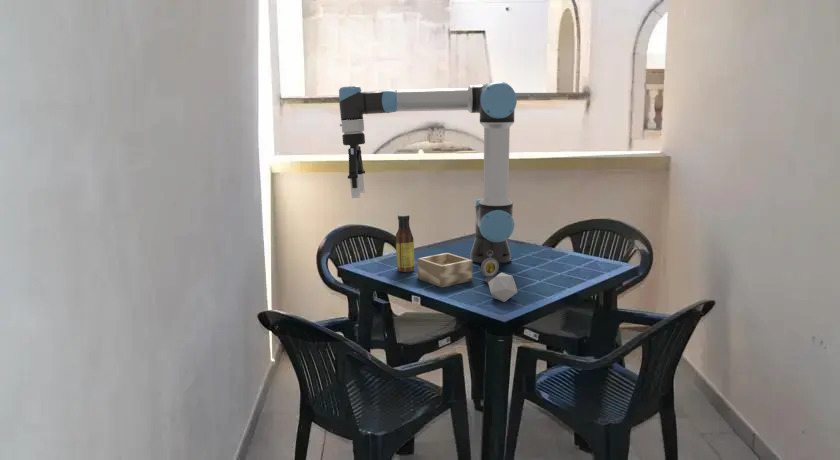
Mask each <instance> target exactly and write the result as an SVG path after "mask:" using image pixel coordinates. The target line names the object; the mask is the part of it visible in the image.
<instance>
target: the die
mask: <svg viewBox="0 0 840 460" xmlns="http://www.w3.org/2000/svg"><path fill="white" fill-rule="evenodd" d="M493 277H494V278H493V279H492V280H490V281H489V282H488V283H487V284H488V287H489V291H490V294H491V296H492V298H493V299H495V300H498V301H500V302H503V303H505V302H507V301H508V300H509V299H510V298H512V297H513V296H515V295H516V294H517V293H519V292H518V289H517V285H516V282H515V280H514V277H513V275H510V274H507V273H505V272H500V273H498V274H496V275H495V276H493Z"/></svg>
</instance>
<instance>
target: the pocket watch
mask: <svg viewBox="0 0 840 460" xmlns="http://www.w3.org/2000/svg"><path fill="white" fill-rule="evenodd" d="M488 252H489V251H487V253H488ZM492 252H493V251H492ZM487 253H486V254H487ZM487 255H488V254H487ZM492 255H493V253H492V254H491V253H490V254H489V255H488V256H489V258H487V259H485V260H484V261H483V262H482V263H480V264H481V266H480V273H481V274H482V275H483V277H486V278H485V279H484V282H485V283H487V284H488V282H489V281H490V280H492V279H493V278H494V277H495V276H497V273H498V272H499V269H500V264H498V261H497V260H496V259H494V258H491V256H492Z"/></svg>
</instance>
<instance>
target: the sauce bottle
mask: <svg viewBox="0 0 840 460" xmlns="http://www.w3.org/2000/svg"><path fill="white" fill-rule="evenodd" d="M397 220H398V230H397V232H396V234H395V254H396V267H397V271H398V272H401V273H411V272H414V271H415V264H416V263H415V243H414V241H415V240H414V239H415V238H414V236H413V232H412V231H411V227H410V214H408V213H404V214H403V213H400V214H397Z"/></svg>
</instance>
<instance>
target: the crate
mask: <svg viewBox="0 0 840 460" xmlns="http://www.w3.org/2000/svg"><path fill="white" fill-rule="evenodd" d="M417 280H421V281H423V282H425V283H428V284H431V285H435V286H437V287H439V288H445V287H450V286H455V285H458V284H459V285H460V284H463V283H468V282H472V281H473V261H472V260H471V259H470V258H466V257H463V256H460V255H456V254H452V253H450V252H445V253H440V254H433V255H428V256H424V257H419V258H417Z"/></svg>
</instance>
